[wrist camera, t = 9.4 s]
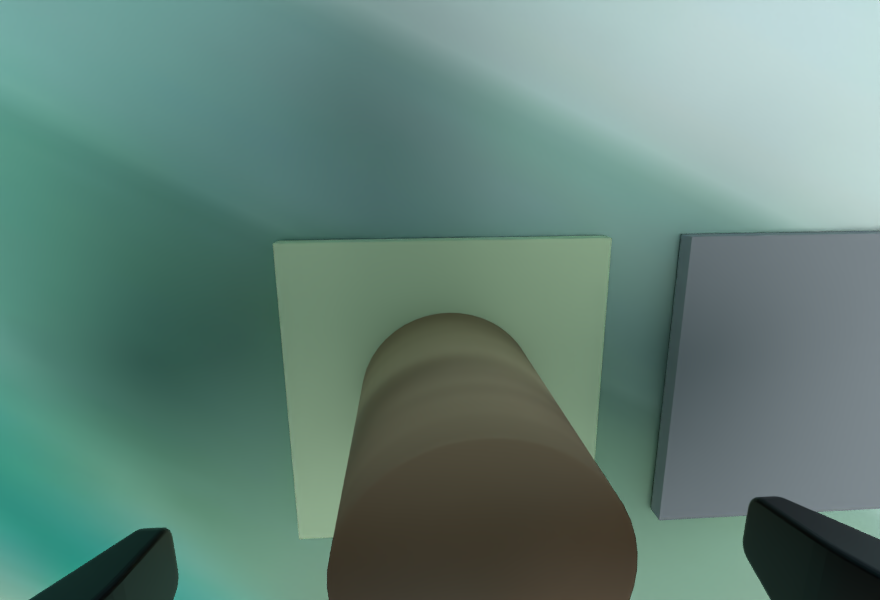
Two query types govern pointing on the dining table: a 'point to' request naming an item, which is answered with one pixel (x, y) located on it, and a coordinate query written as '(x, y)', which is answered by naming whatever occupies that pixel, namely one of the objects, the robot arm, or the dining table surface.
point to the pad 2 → (772, 375)
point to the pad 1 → (415, 296)
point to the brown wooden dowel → (472, 480)
